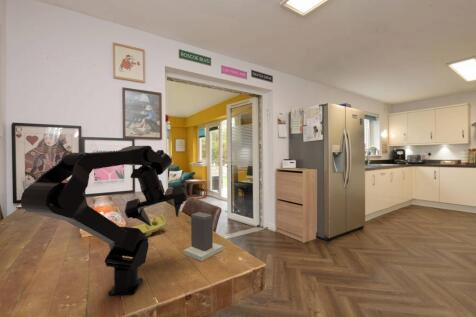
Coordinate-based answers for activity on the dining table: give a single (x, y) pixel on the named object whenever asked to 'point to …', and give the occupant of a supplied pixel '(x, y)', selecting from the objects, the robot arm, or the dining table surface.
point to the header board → (202, 252)
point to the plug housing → (201, 231)
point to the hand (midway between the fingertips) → (163, 220)
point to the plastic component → (152, 225)
